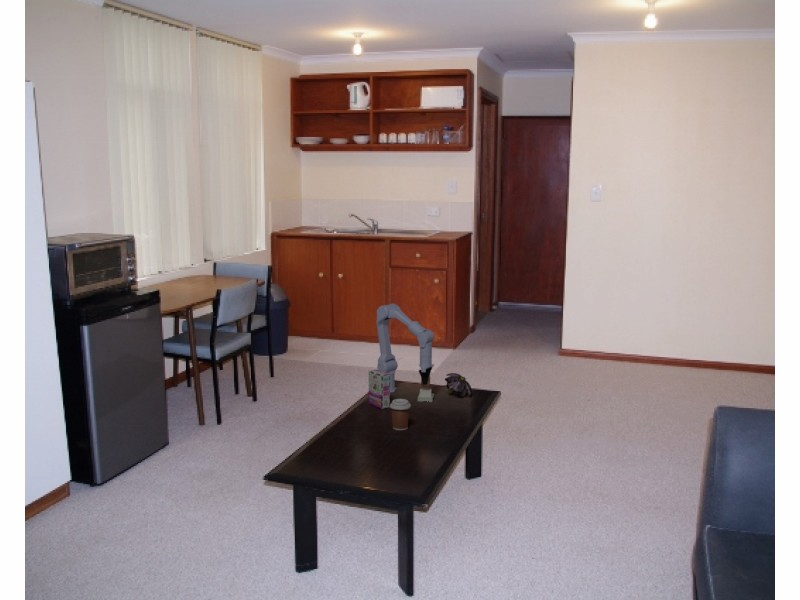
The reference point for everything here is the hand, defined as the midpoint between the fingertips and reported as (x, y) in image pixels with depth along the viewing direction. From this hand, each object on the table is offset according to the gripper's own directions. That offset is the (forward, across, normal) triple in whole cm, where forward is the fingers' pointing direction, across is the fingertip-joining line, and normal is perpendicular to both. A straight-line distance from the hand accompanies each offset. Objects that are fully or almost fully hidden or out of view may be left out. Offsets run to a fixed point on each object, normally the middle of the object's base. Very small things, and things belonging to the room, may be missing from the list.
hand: (425, 382), depth 349 cm
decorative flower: (+8, +9, -15) cm, 19 cm away
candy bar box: (+8, -14, +20) cm, 26 cm away
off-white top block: (+6, 0, 0) cm, 6 cm away
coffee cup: (+8, -42, +5) cm, 43 cm away
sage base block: (+9, 0, 0) cm, 9 cm away
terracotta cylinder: (+1, 0, 0) cm, 1 cm away
